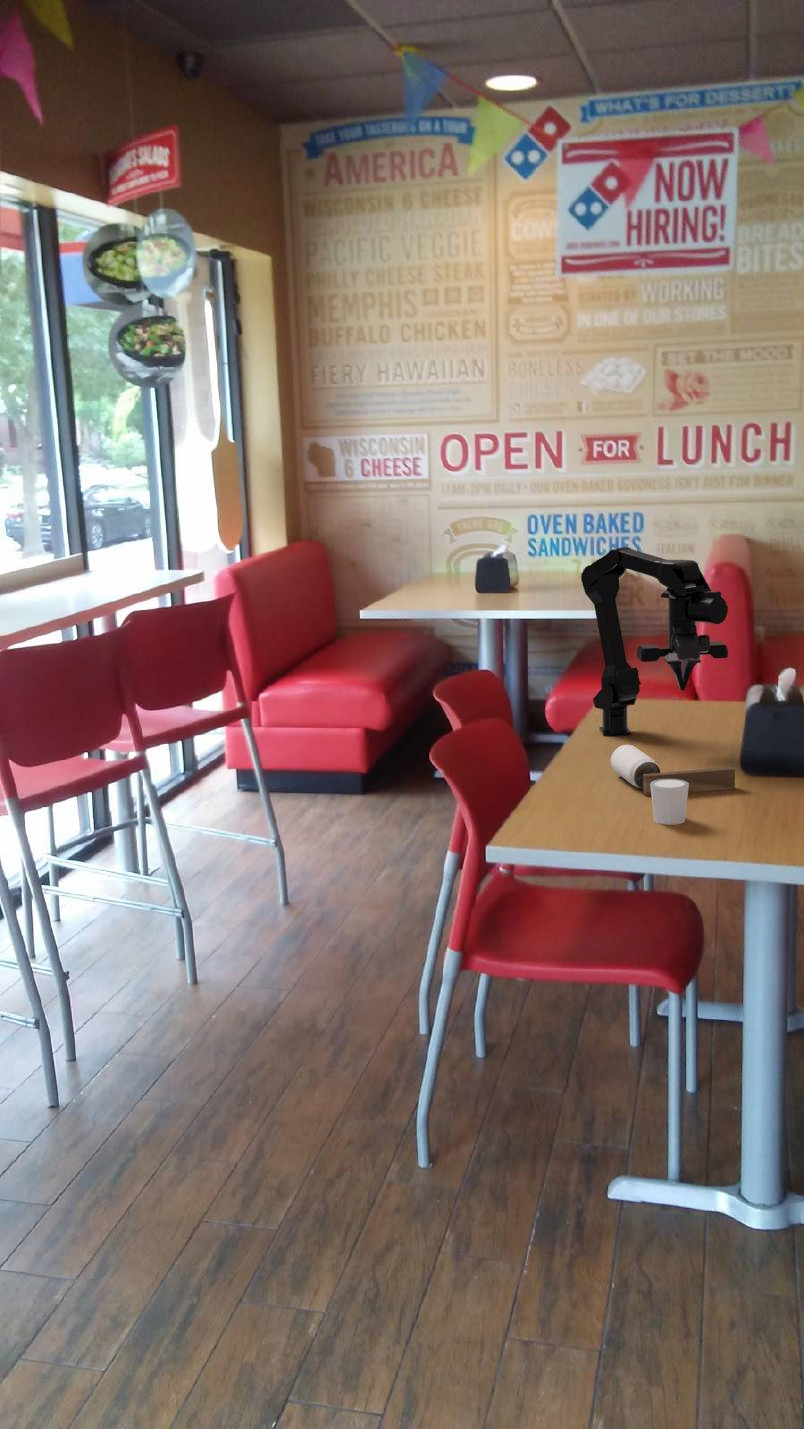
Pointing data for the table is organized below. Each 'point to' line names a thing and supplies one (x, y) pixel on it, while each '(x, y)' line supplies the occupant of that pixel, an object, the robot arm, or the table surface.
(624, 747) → the can
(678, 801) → the white cup
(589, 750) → the table surface
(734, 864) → the table surface
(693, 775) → the rail
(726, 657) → the robot arm
